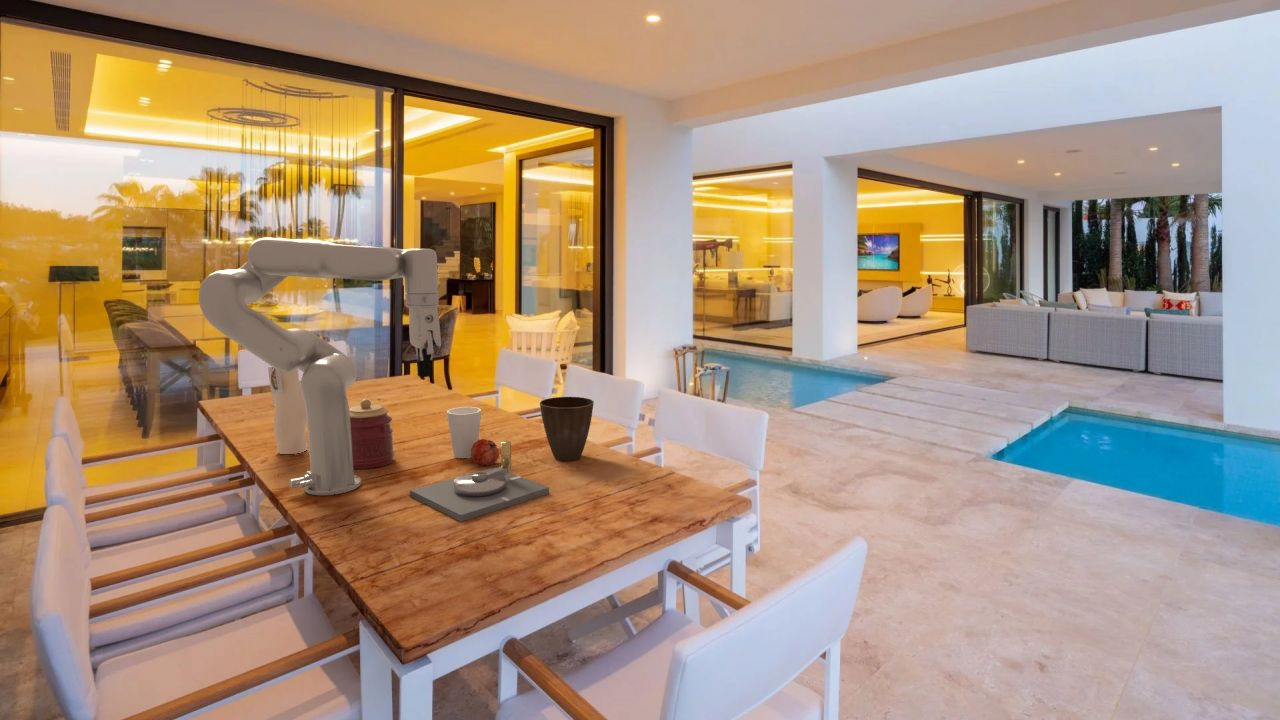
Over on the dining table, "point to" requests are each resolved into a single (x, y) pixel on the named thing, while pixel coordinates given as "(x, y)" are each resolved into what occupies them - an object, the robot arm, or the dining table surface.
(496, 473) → the crank handle
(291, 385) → the water bottle
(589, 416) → the plant pot
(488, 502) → the base
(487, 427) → the dining table surface
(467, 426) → the foam cup
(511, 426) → the dining table surface
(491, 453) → the pomegranate
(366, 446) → the canister
